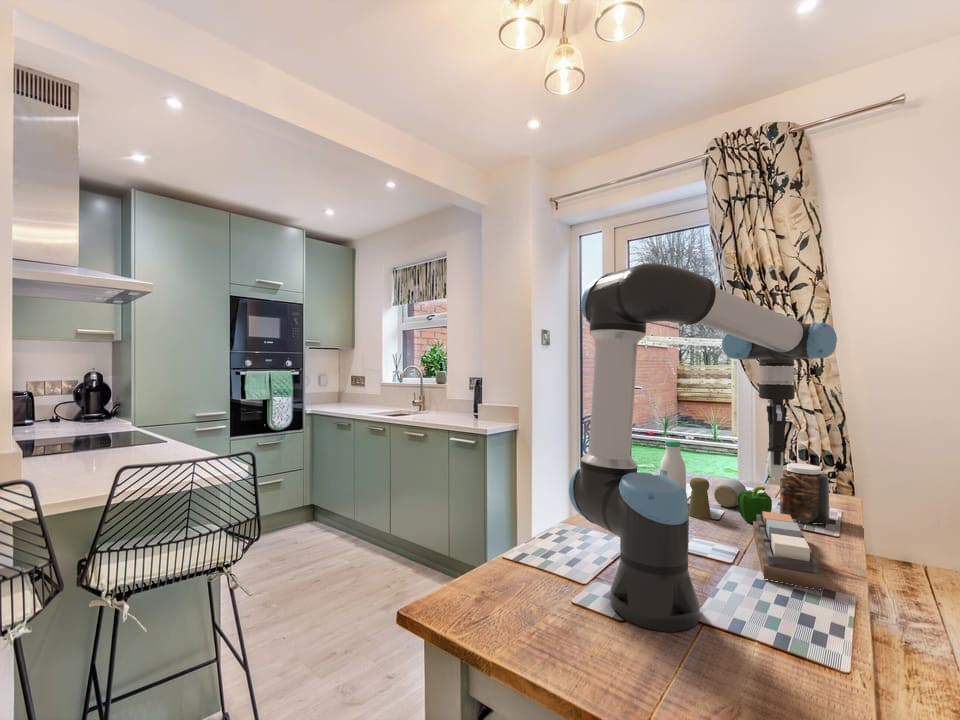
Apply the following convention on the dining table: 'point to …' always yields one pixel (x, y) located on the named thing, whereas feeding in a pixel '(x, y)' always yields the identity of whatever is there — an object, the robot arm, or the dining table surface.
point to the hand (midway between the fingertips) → (776, 476)
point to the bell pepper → (753, 504)
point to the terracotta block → (775, 517)
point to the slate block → (782, 528)
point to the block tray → (785, 562)
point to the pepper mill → (699, 499)
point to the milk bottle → (673, 463)
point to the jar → (804, 493)
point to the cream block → (790, 547)
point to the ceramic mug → (728, 492)
